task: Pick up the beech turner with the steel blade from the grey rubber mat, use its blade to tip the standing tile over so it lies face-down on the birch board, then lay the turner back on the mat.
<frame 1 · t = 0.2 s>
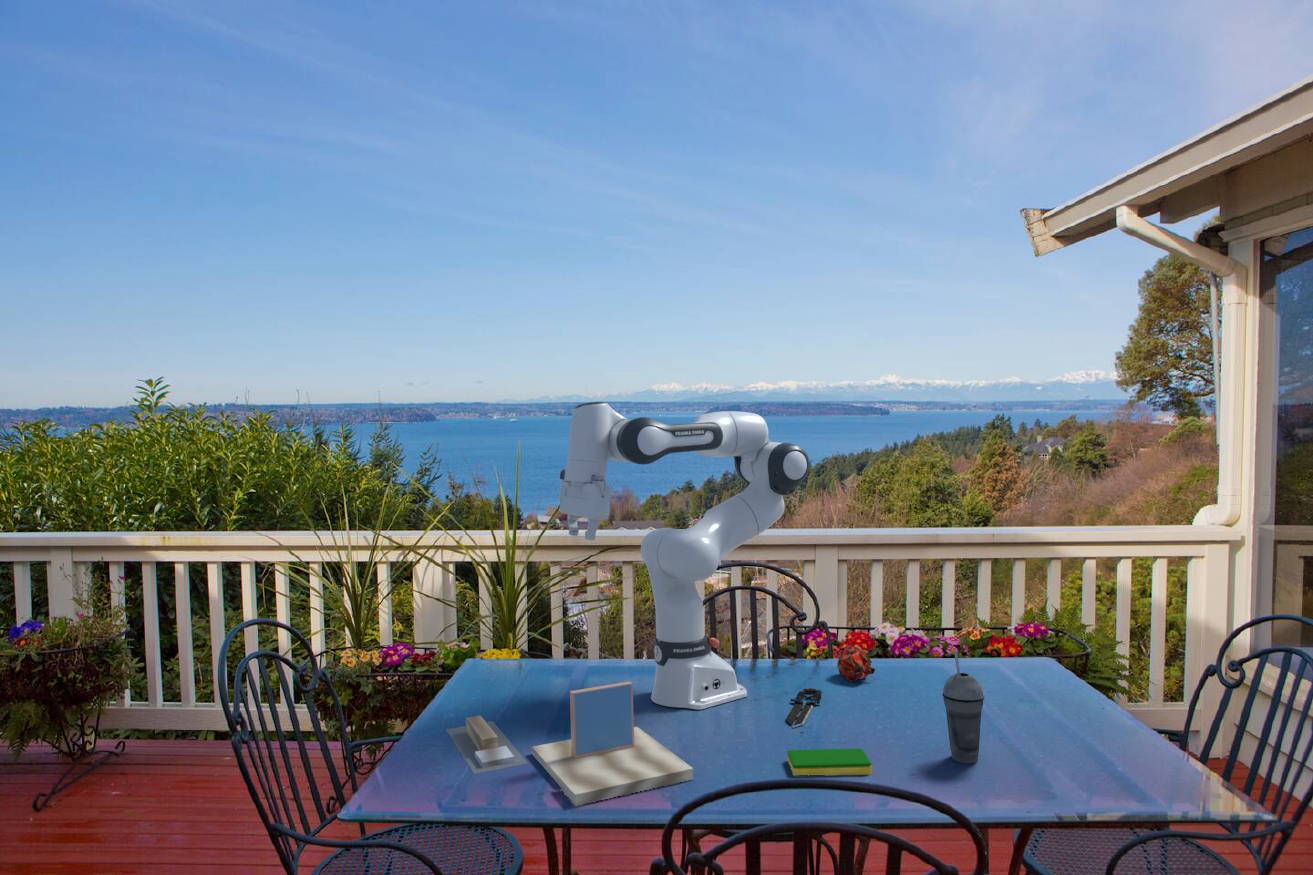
hand: (581, 537, 178), 39 cm above the table, tool pointing down, fingers open, 8 cm apart
dragon fruit: (855, 679, 200), on the table
board: (609, 767, 149), on the table
tile: (603, 751, 152), point 2 cm above the table, touching board
dish sponge: (828, 770, 147), on the table
mat: (484, 748, 160), on the table
beverage cup: (964, 759, 150), on the table
turner: (481, 741, 162), point 1 cm above the table, touching mat
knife: (804, 711, 179), on the table
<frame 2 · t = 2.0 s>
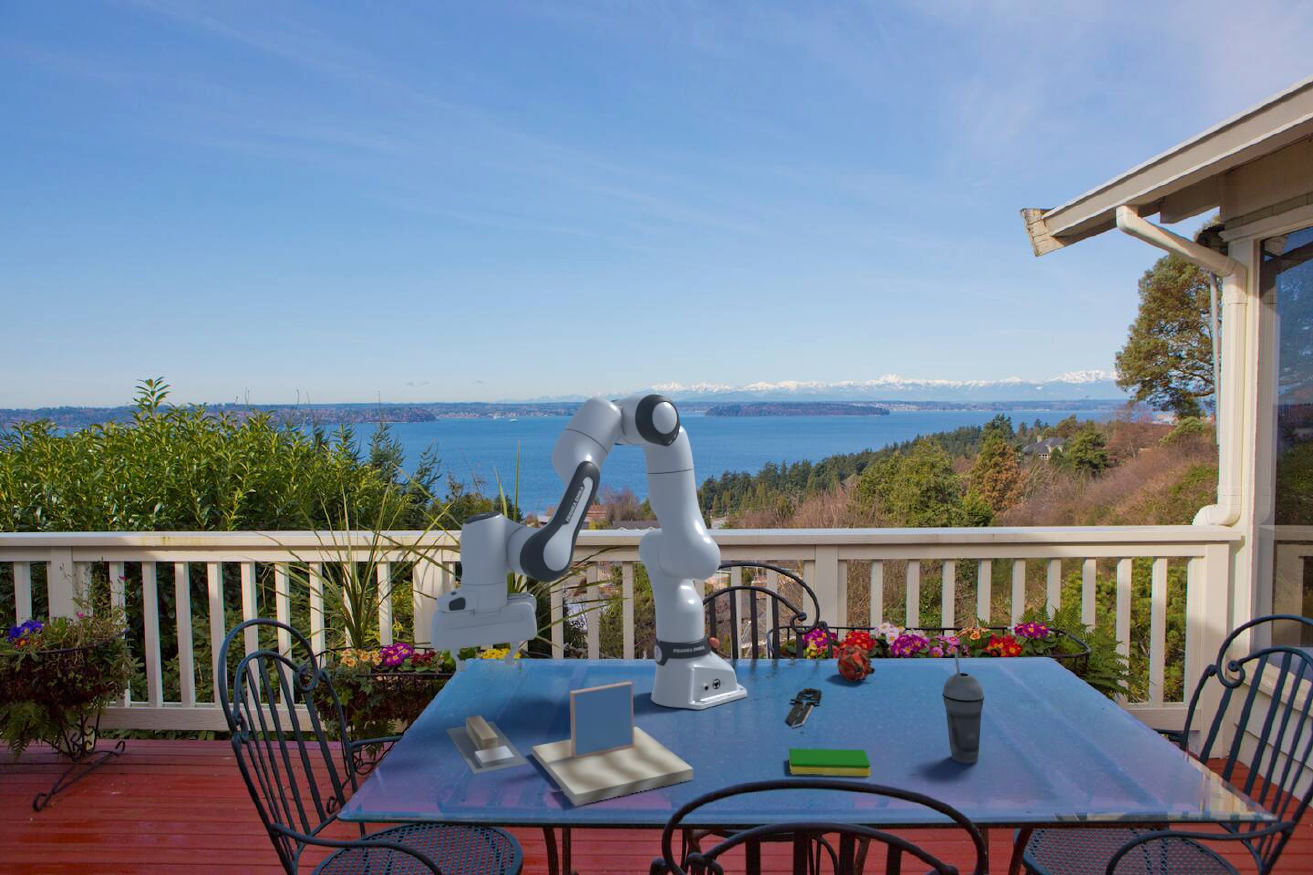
hand: (485, 667, 158), 17 cm above the table, tool pointing down, fingers open, 8 cm apart
nothing on the table moved.
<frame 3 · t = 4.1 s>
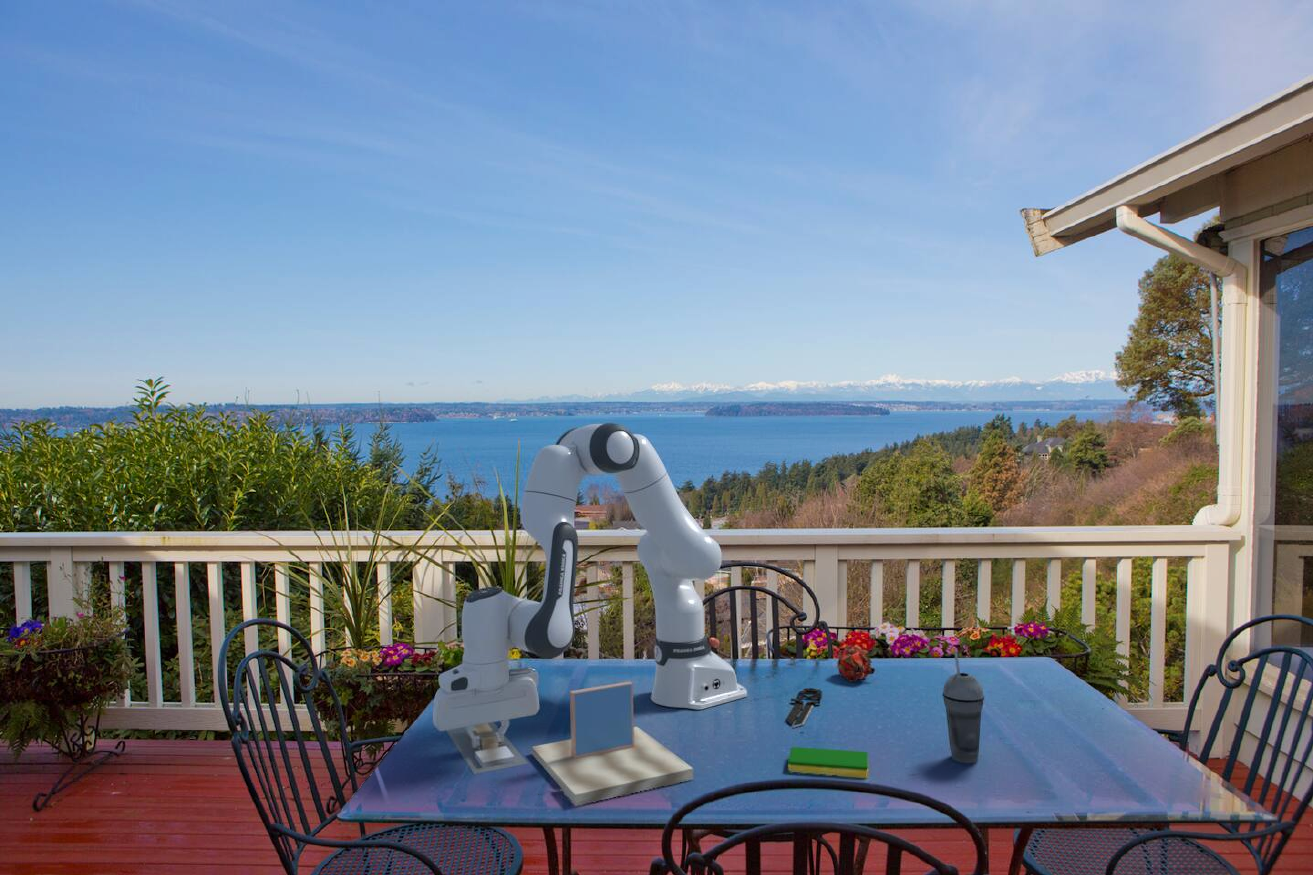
hand: (487, 744, 158), 2 cm above the table, tool pointing down, fingers closed on turner, 3 cm apart
turner: (481, 741, 162), point 1 cm above the table, touching gripper, mat
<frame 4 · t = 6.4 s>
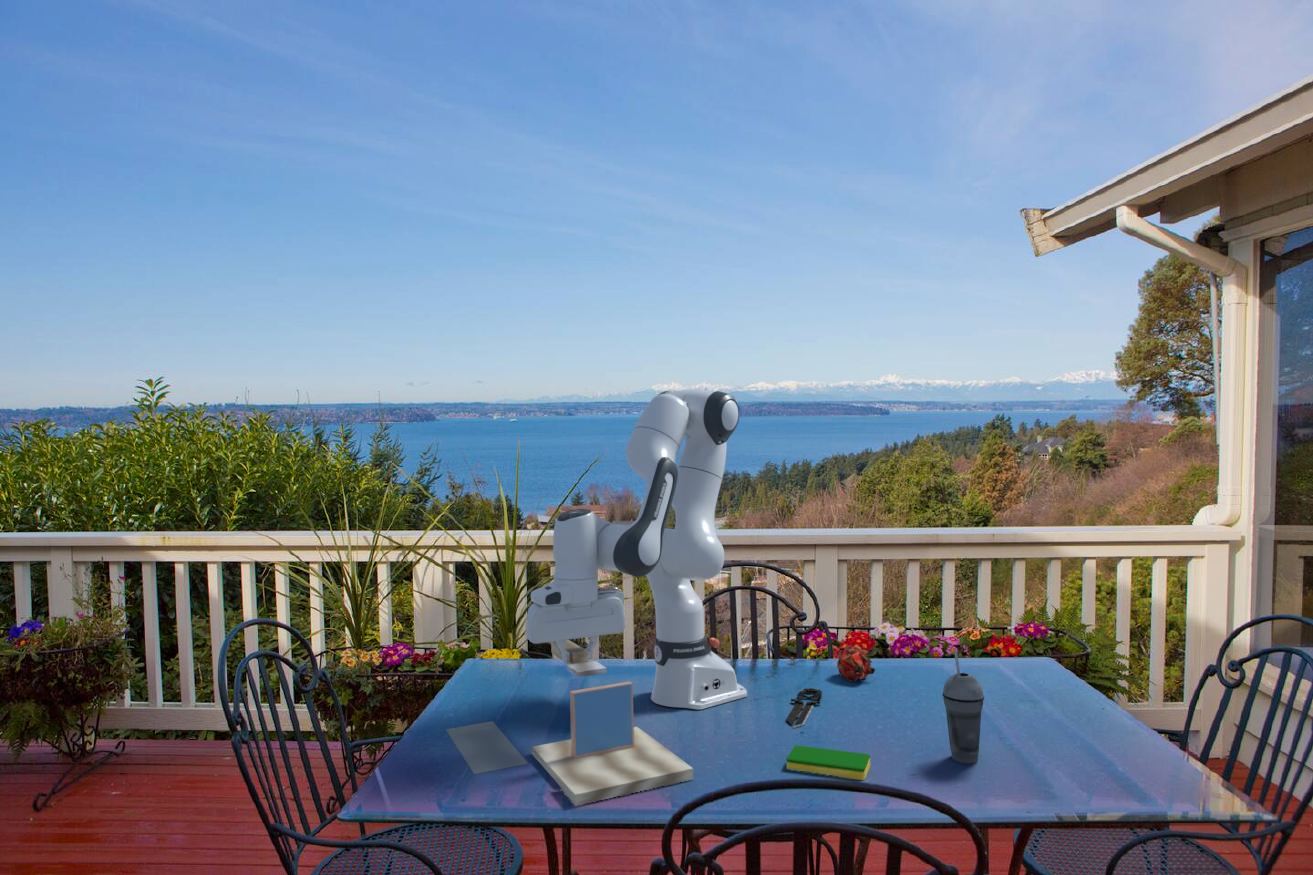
hand: (577, 659, 163), 16 cm above the table, tool pointing down, fingers closed on turner, 3 cm apart
turner: (569, 659, 168), point 15 cm above the table, touching gripper
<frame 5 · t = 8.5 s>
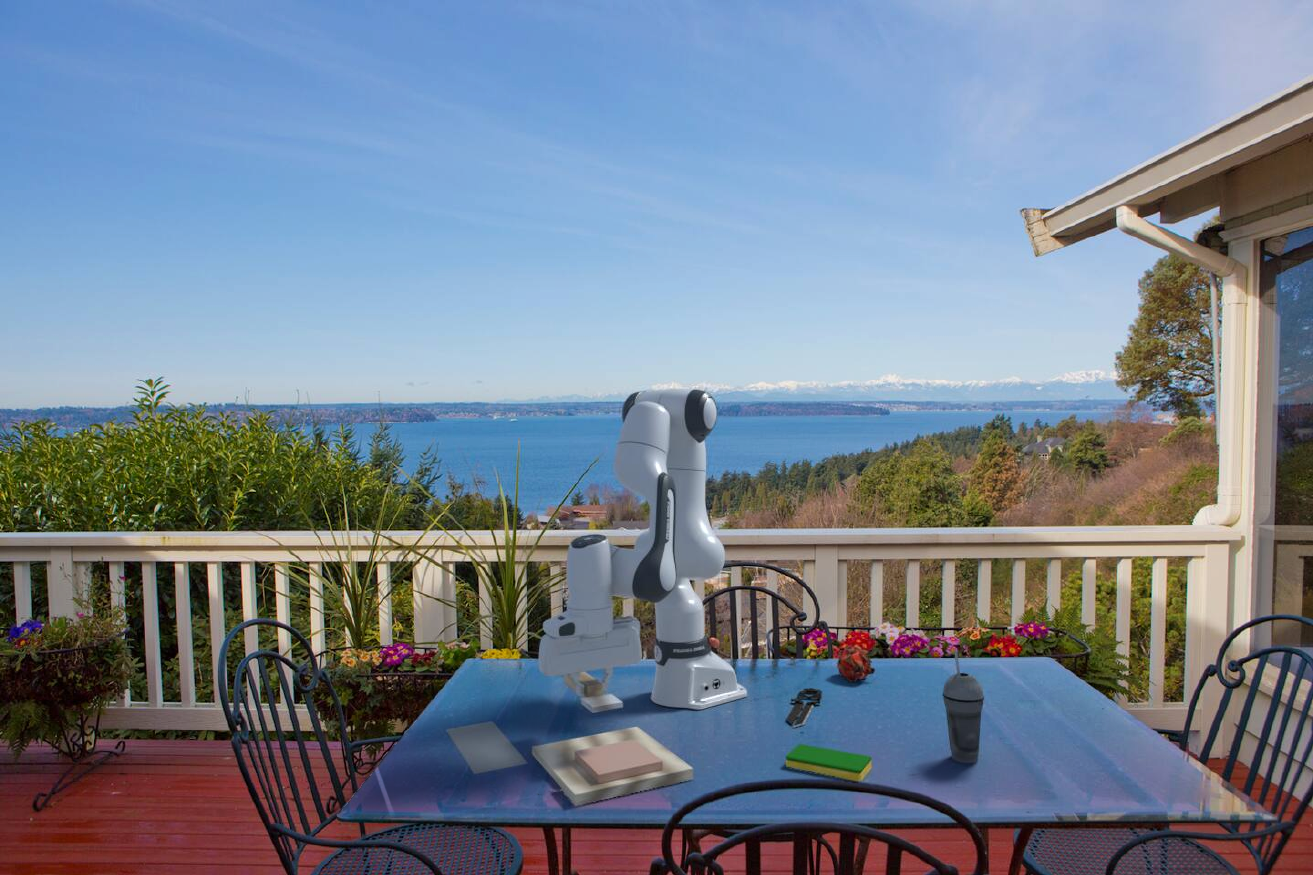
hand: (591, 692, 156), 12 cm above the table, tool pointing down, fingers closed on turner, 3 cm apart
tile: (605, 748, 151), point 3 cm above the table, tilted 90°, touching board
turner: (583, 691, 161), point 11 cm above the table, touching gripper
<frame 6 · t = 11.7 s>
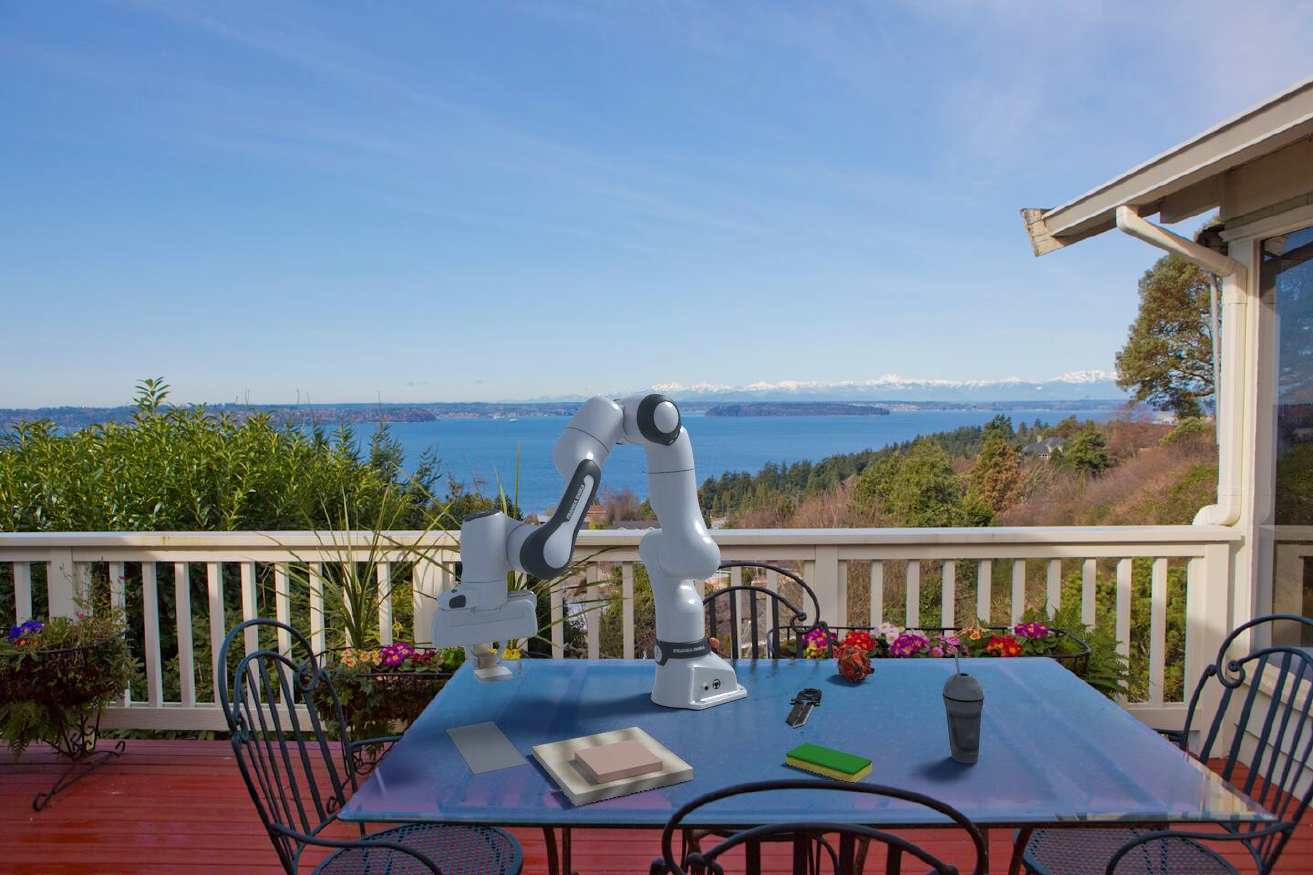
hand: (486, 665, 158), 17 cm above the table, tool pointing down, fingers closed on turner, 3 cm apart
turner: (480, 664, 162), point 16 cm above the table, touching gripper
when the fingers open (3 cm above the table, at t = 14.6 s): turner drops 1 cm, resting on mat.
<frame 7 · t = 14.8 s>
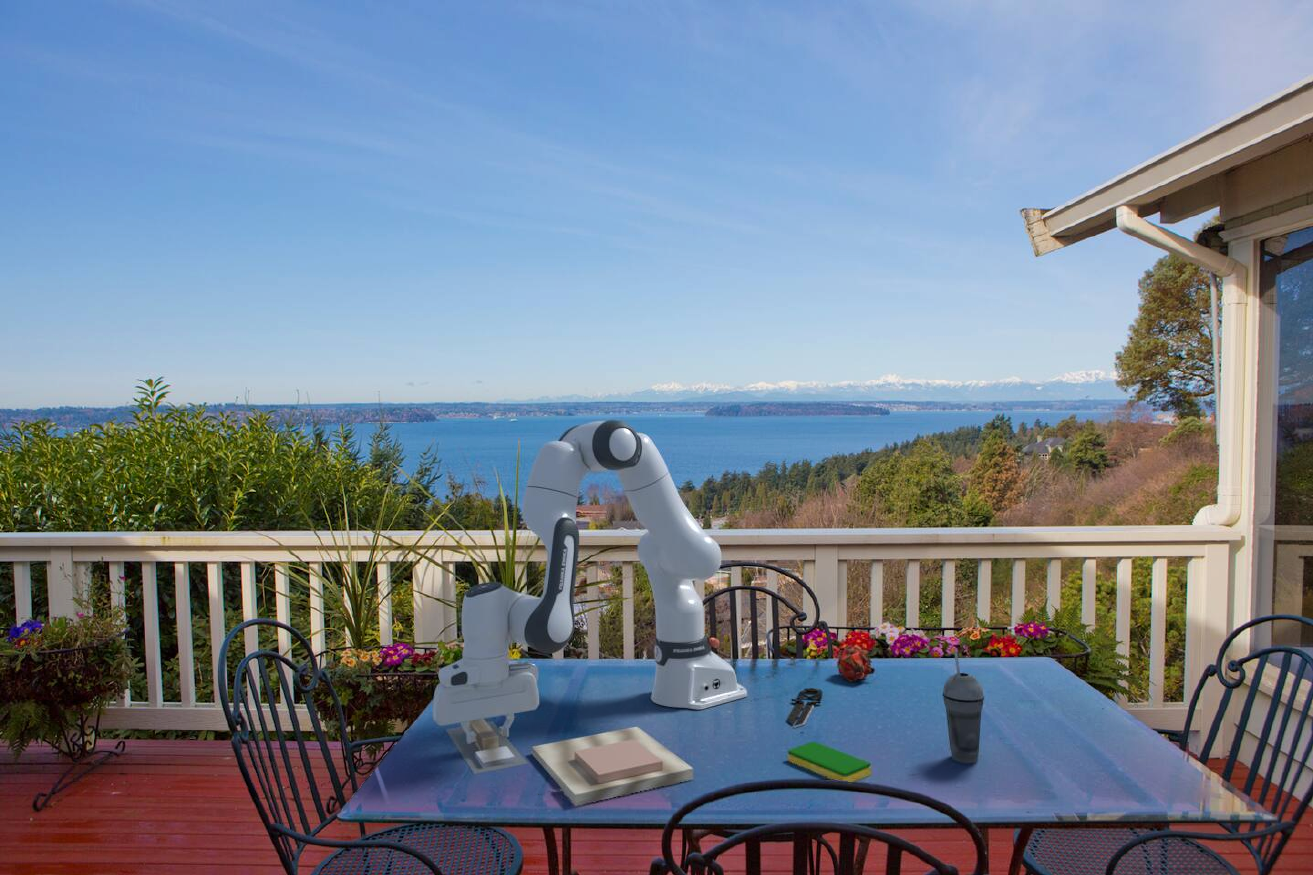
hand: (487, 739, 158), 3 cm above the table, tool pointing down, fingers open, 5 cm apart
turner: (482, 742, 162), point 1 cm above the table, touching mat
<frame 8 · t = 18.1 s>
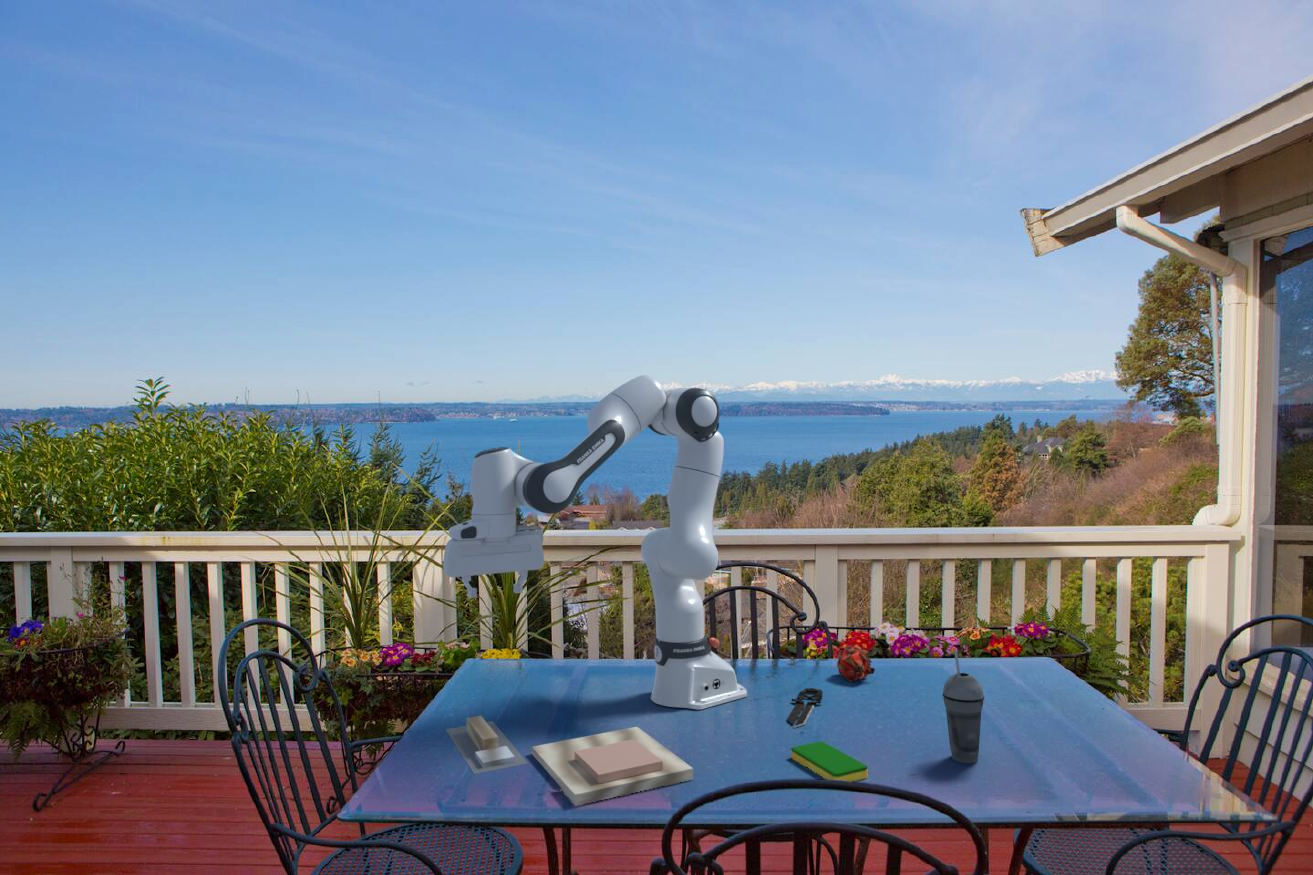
hand: (495, 595, 166), 29 cm above the table, tool pointing down, fingers open, 8 cm apart
at the end: tile tilted 90°; tile inside the target area (2.6 cm from its centre), point 2.8 cm above the table; turner inside the target area (0.1 cm from its centre), point 0.6 cm above the table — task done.
